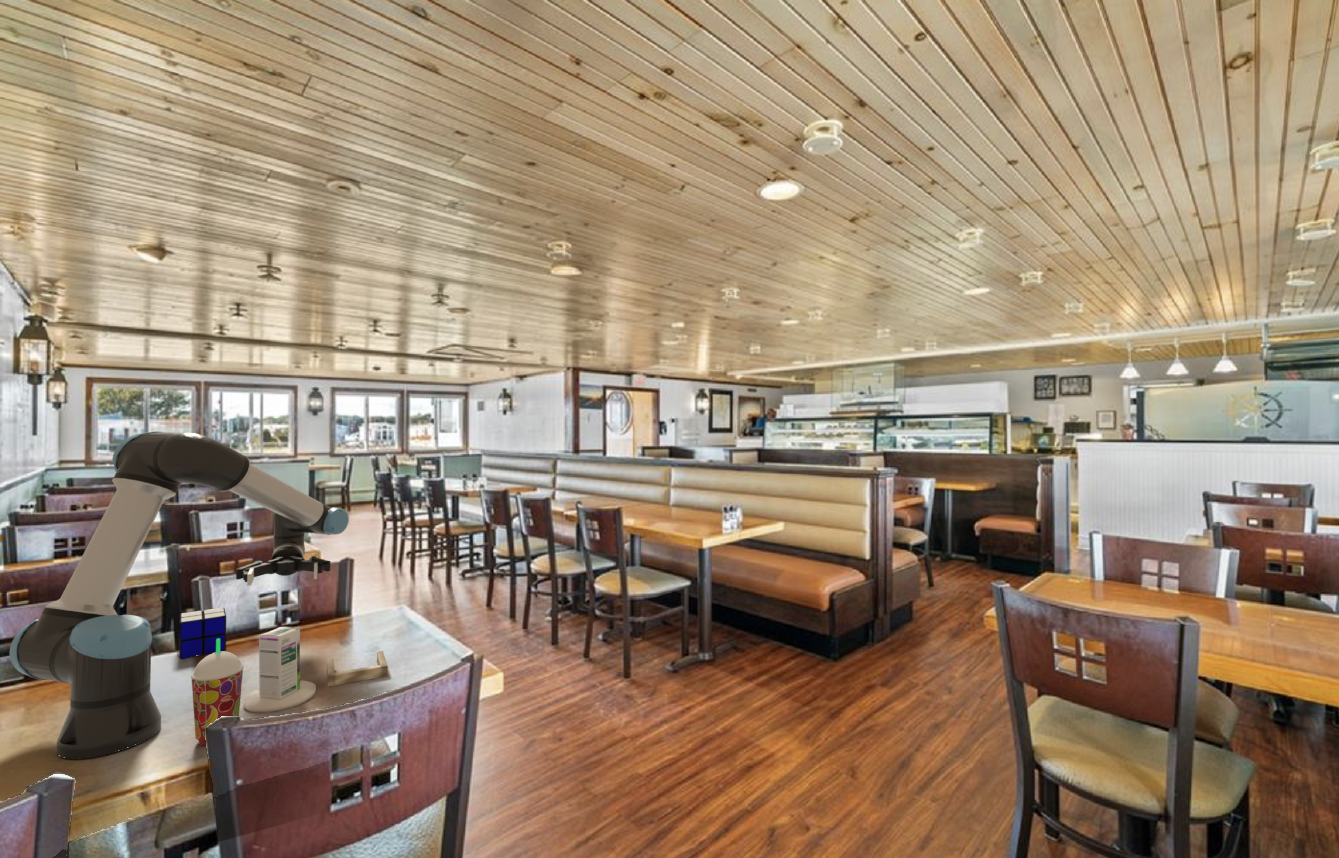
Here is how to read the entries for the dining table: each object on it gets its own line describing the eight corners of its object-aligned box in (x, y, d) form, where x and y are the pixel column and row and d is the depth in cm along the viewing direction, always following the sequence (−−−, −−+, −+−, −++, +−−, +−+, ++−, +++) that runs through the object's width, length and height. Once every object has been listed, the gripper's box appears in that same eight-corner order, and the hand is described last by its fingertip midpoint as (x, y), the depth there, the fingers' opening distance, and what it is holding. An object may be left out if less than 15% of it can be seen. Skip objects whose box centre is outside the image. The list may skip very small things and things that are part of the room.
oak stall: (327, 686, 143) (328, 676, 143) (327, 669, 153) (327, 660, 153) (387, 675, 150) (387, 665, 150) (382, 660, 159) (383, 651, 159)
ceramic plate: (239, 718, 127) (239, 713, 127) (246, 692, 139) (246, 688, 139) (315, 703, 134) (315, 699, 134) (315, 680, 146) (315, 676, 146)
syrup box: (279, 700, 133) (280, 636, 133) (257, 697, 134) (258, 633, 134) (300, 689, 139) (301, 627, 139) (279, 687, 140) (279, 625, 140)
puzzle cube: (179, 660, 158) (179, 622, 158) (179, 649, 166) (179, 613, 166) (226, 651, 164) (226, 615, 164) (224, 641, 172) (224, 606, 172)
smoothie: (201, 731, 121) (202, 633, 121) (249, 725, 124) (250, 630, 124) (181, 753, 113) (183, 648, 113) (233, 746, 116) (234, 644, 116)
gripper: (338, 568, 170) (341, 586, 151) (231, 578, 157) (219, 598, 139) (339, 542, 170) (341, 556, 151) (231, 549, 157) (219, 566, 139)
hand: (283, 576), depth 145 cm, fingers open, 13 cm apart
